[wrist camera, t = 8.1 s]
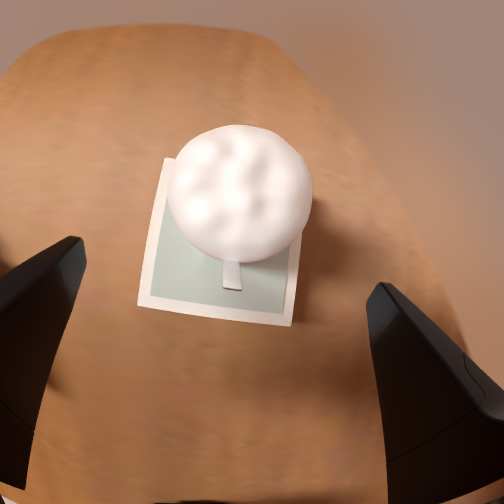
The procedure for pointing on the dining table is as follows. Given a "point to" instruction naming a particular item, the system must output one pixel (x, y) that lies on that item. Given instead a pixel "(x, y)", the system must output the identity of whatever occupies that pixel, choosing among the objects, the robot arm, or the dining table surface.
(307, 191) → the milkshake
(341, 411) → the dining table surface
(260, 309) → the tile base
